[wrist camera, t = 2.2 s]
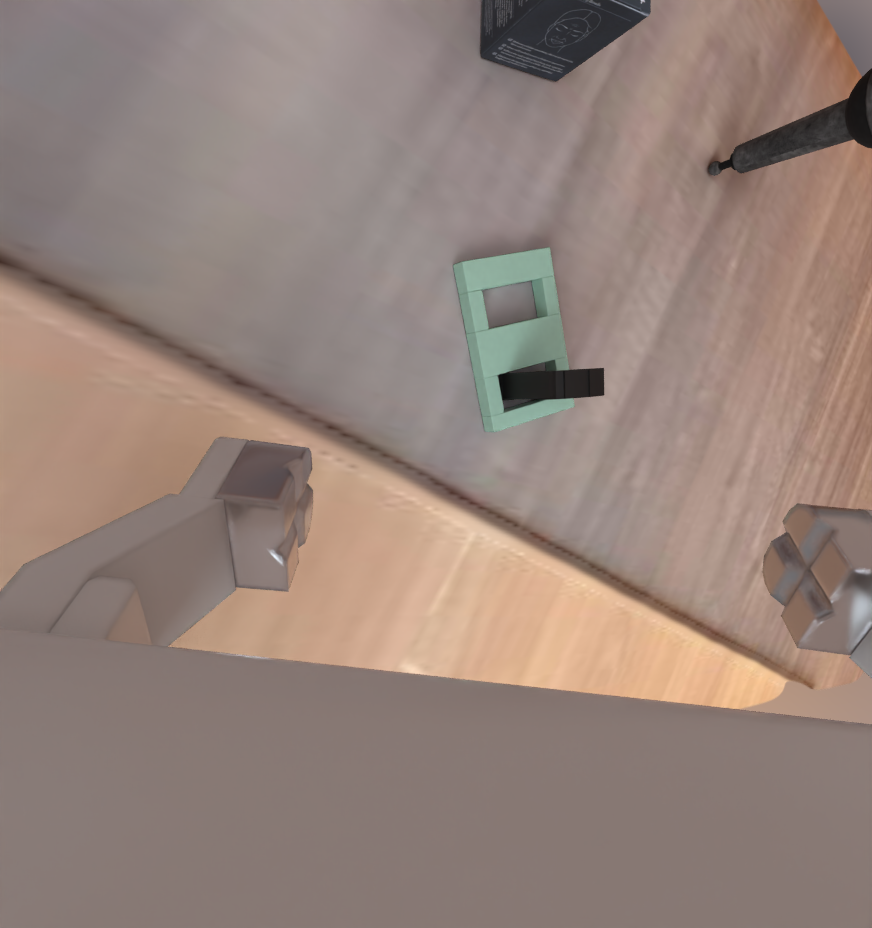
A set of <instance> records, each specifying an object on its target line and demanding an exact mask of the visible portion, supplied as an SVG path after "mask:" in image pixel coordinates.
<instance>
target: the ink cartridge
mask: <svg viewBox="0 0 872 928" xmlns="http://www.w3.org/2000/svg"><path fill="white" fill-rule="evenodd" d="M499 385H500V391H501V396H502V400H514V399H549V400H550V399H570V398H581V397H593V396H603V395H604V368H596V369H577V370H559V371H541V372H523V373H506V374H499Z"/></svg>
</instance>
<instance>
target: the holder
mask: <svg viewBox="0 0 872 928" xmlns="http://www.w3.org/2000/svg"><path fill="white" fill-rule="evenodd" d="M453 268H454V273H455V278H456V283H457V289H458V294H459V299H460V304H461V310H462V315H463V320H464V325H465V331H466V337H467V342H468V347H469V352H470V357H471V363H472V368H473V373H474V378H475V383H476V389H477V394H478V399H479V404H480V409H481V415H482V419H483V425H484V430H485V431H486V432H497V431H500V430H503V429H506V428H510V427H513V426H516V425H519V424H522V423H525V422H528V421H532V420H535V419H538V418H541V417H544V416H547V415H550V414H553V413H557V412H560V411H563V410H566V409H569V408H572V407H575V405H574V399H573V398H570V399H550V400H549V399H536V400H533V401H530V402H526V403H523V404H520V405H516V406H513V407H510V408H506V409H504V407H503V402H502V396H501V391H500V385H499V380H498V375H499V374H503V373H507V372H510V371H514V370H518V369H521V368H525V367H529V366H533V365H536V364H540V363H544V362H545V366H546V371H559V370H569V366H568V359H567V353H566V347H565V340H564V334H563V328H562V321H561V315H560V309H559V303H558V296H557V290H556V283H555V277H554V271H553V265H552V259H551V252H550V247H547V248H541V249H535V250H529V251H523V252H517V253H511V254H505V255H499V256H492V257H486V258H480V259H474V260H468V261H462V262H460V263H457V264H454V265H453ZM528 281H532V287H533V293H534V299H535V305H536V311H537V317H538V318H534V319H530V320H525V321H521V322H517V323H512V324H508V325H503V326H499V327H495V328H490V329H489V326H488V320H487V315H486V309H485V304H484V298H483V293H482V290H486V289H491V288H497V287H502V286H507V285H512V284H517V283H523V282H528Z"/></svg>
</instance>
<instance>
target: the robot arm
mask: <svg viewBox="0 0 872 928" xmlns="http://www.w3.org/2000/svg"><path fill="white" fill-rule="evenodd" d="M311 471H312V457H311V451H310V449H309V448H306V447H298V446H291V445H283V444H276V443H268V442H261V441H253V440H251V441H249V440H245V439H236V438H227V437H219V438H217V439H215V440H214V441H213V443H212V445H211V446H210V448H209V449H208V451H207V452H206V454H205V455H204V457H203V458H202V460H201V461H200V463H199V464H198V466H197V467H196V469H195V471H194V472H193V474H192V475H191V477H190V478H189V480H188V481H187V483H186V484H185V486H184V487H183V489H182V490H181V492H180V493H179V495H177V494H168V495H166V496H164V497H162V498H160V499H158V500H156V501H154V502H152V503H150V504H147V505H145V506H143V507H141V508H139V509H137V510H135V511H133V512H131V513H129V514H127V515H125V516H123V517H121V518H119V519H116V520H114V521H112V522H110V523H108V524H106V525H104V526H102V527H100V528H98V529H96V530H94V531H92V532H90V533H88V534H86V535H83V536H81V537H79V538H77V539H75V540H73V541H71V542H69V543H67V544H65V545H63V546H61V547H59V548H57V549H55V550H52V551H50V552H48V553H46V554H44V555H42V556H40V557H38V558H36V559H34V560H32V561H30V562H28V563H26V564H24V565H23V566H22V567H21V568H20V569H19V570H18V572H17V573H16V574H15V575H14V576H13V577H12V578H11V580H10V581H9V582H8V583H7V584H6V585H5V587H4V588H3V589H2V590H1V591H0V928H872V724H863V723H854V722H845V721H835V720H827V719H818V718H809V717H801V716H791V715H783V714H774V713H765V712H756V711H746V710H738V709H729V708H720V707H712V706H703V705H694V704H684V703H675V702H666V701H657V700H648V699H639V698H630V697H620V696H611V695H602V694H593V693H584V692H575V691H566V690H557V689H547V688H538V687H529V686H520V685H511V684H502V683H493V682H483V681H474V680H465V679H456V678H447V677H438V676H429V675H420V674H411V673H402V672H393V671H384V670H374V669H365V668H356V667H347V666H338V665H329V664H320V663H311V662H302V661H293V660H284V659H275V658H265V657H256V656H247V655H238V654H229V653H220V652H211V651H202V650H193V649H184V648H175V647H168V646H169V645H170V644H171V643H172V642H174V641H175V640H176V639H177V638H179V637H180V636H181V635H182V634H183V633H185V632H186V631H187V630H188V629H189V628H191V627H192V626H193V625H194V624H195V623H197V622H198V621H199V620H200V619H202V618H203V617H204V616H205V615H206V614H208V613H209V612H210V611H211V610H212V609H214V608H215V607H216V606H217V605H218V604H220V603H221V602H222V601H223V600H225V599H226V598H227V597H228V596H229V595H231V594H232V593H233V592H234V591H235V590H236V587H239V588H251V589H263V590H275V591H287V592H288V591H289V588H290V586H291V583H292V580H293V577H294V574H295V571H296V568H297V566H298V563H299V557H298V548H299V547H300V546H302V545H303V544H305V542H306V539H307V536H308V533H309V529H310V524H311V518H312V509H313V490H312V488H311V487H310V486H309V485H308V484H307V482H308V479H309V476H310V474H311ZM783 524H784V528H785V531H786V533H784V534H783V535H781V536H779V537H778V538H776V539H774V540H773V541H771V543H770V545H769V547H768V549H767V551H766V553H765V555H764V561H763V571H762V572H763V577H764V582H765V585H766V587H767V589H768V591H769V593H770V595H771V596H772V597H774V598H775V599H776V600H777V601H779V602H780V603H781V604H782V605H784V606H785V607H784V610H783V612H782V614H781V617H782V619H783V621H784V623H785V625H786V627H787V629H788V630H789V632H790V634H791V636H792V638H793V640H794V642H795V644H796V646H797V648H800V649H808V650H815V651H822V652H829V653H837V654H844V655H851V656H850V657H849V658H850V659H851V660H852V661H854V662H855V663H856V664H857V665H858V666H859V667H860V668H861V669H862V670H863V671H864V672H865V673H866V674H867V675H868V676H870V677H871V678H872V510H867V509H858V510H857V509H848V508H838V507H828V506H818V505H808V504H798V503H797V504H796V505H795V506H794V507H793V508H791V509H790V510H789V512H788V513H787V515H786V517H785V518H784V520H783Z"/></svg>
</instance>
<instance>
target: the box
mask: <svg viewBox="0 0 872 928" xmlns="http://www.w3.org/2000/svg"><path fill="white" fill-rule="evenodd" d="M650 10H651V9H650V0H482V23H481V57H483V58H485V59H488V60H491V61H494V62H497V63H501V64H503V65H506V66H509V67H513V68H516V69H519V70H522V71H525V72H528V73H531V74H534V75H537V76H540V77H543V78H546V79H549V80H552V81H558V80H559V79H561V78H562V77H563V76H565V75H566V74H568V73H569V72H571V71H572V70H573V69H575V68H576V67H578V66H579V65H580V64H582V63H583V62H585V61H586V60H587V59H589V58H590V57H592V56H593V55H594V54H596V53H597V52H598V51H600V50H601V49H603V48H604V47H606V46H607V45H608V44H610V43H611V42H613V41H614V40H615V39H617V38H618V37H620V36H621V35H623V34H624V33H625V32H627V31H628V30H629V29H631V28H632V27H634V26H635V25H636V24H638V23H639V22H641V21H642V20H643V19H645V18H646V17H648V16H649V14H650V12H651V11H650Z"/></svg>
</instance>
